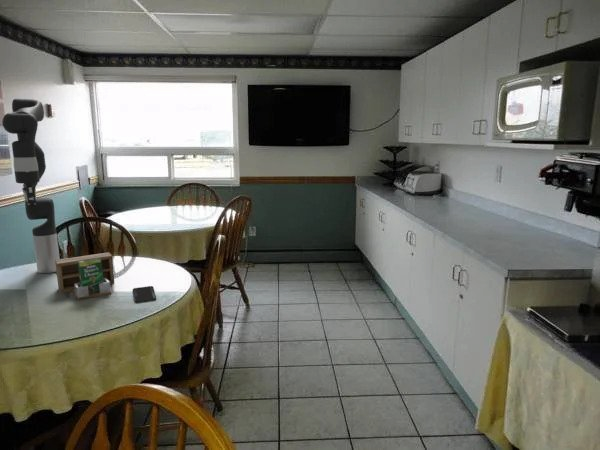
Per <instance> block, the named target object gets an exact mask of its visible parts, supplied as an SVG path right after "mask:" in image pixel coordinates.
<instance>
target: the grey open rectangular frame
mask: <svg viewBox="0 0 600 450" xmlns="http://www.w3.org/2000/svg"><path fill="white" fill-rule="evenodd" d="M103 282H104V283H99V291H100V294H102V293H107V292H111V293H112V290H111V284H110V282H109V281H108V280H107V278H103ZM74 289H75V294H76V296H77V298H81V297H86V296H89V292H88V286H82V287H81V285H80V283H74Z"/></svg>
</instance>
